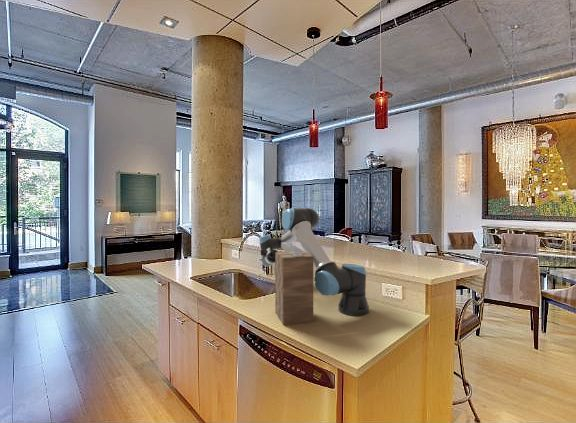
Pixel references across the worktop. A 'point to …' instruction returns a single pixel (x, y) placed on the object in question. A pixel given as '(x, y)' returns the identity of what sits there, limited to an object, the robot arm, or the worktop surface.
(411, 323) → the worktop surface
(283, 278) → the walnut stand
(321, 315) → the worktop surface
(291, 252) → the metal bar
